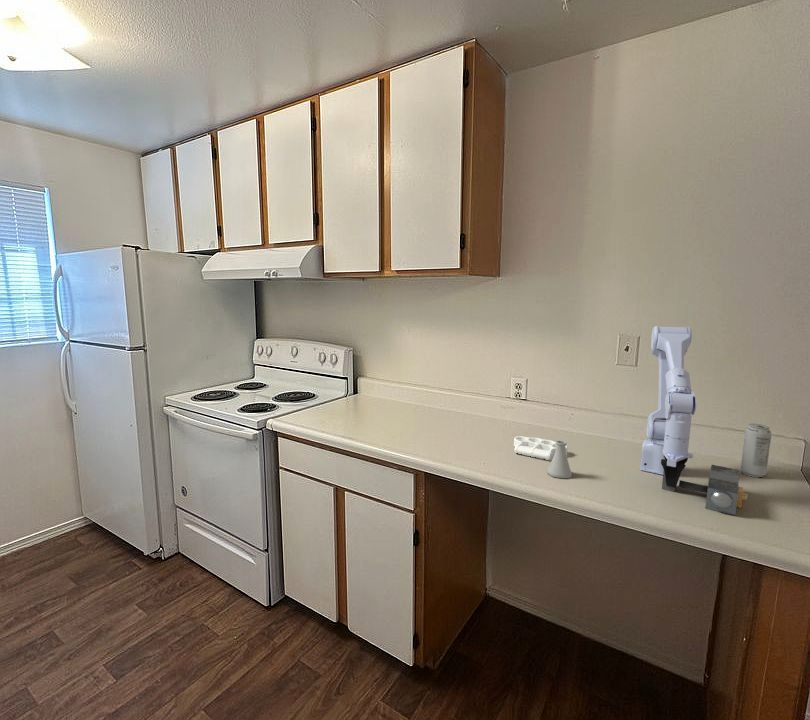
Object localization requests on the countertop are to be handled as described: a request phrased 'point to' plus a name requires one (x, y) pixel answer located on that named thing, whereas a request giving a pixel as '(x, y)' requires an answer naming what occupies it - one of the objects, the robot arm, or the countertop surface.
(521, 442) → the white egg tray
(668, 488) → the bar with block ends
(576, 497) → the countertop surface
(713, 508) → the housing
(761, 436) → the energy drink can
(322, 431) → the countertop surface
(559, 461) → the flask
